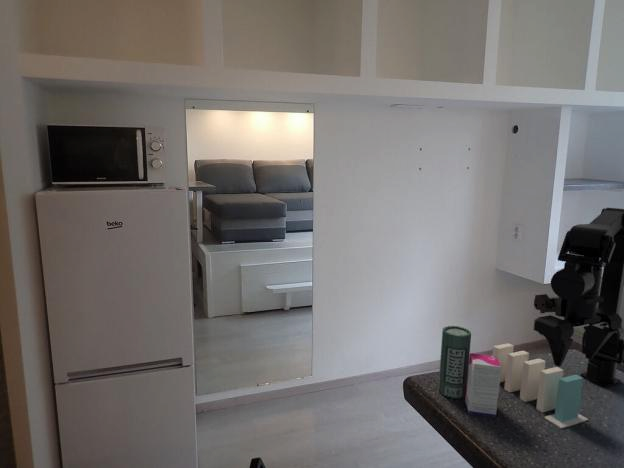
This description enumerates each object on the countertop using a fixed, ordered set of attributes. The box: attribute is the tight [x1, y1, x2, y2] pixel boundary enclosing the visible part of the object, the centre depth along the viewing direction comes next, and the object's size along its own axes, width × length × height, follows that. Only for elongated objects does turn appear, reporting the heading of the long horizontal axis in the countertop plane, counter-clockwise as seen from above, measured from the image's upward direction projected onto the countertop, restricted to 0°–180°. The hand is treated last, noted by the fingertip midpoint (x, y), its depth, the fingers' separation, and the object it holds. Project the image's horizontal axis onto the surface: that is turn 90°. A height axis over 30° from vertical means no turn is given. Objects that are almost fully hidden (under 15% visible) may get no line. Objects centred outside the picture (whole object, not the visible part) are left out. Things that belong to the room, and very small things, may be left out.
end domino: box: [554, 374, 584, 422], centre depth 94 cm, size 2×5×9 cm, turn 112°
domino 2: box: [504, 350, 530, 393], centre depth 106 cm, size 2×5×9 cm, turn 113°
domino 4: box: [535, 366, 564, 413], centre depth 98 cm, size 2×5×9 cm, turn 113°
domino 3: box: [519, 358, 546, 403], centre depth 102 cm, size 2×5×9 cm, turn 113°
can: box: [438, 325, 472, 400], centre depth 104 cm, size 6×6×15 cm
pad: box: [544, 413, 589, 430], centre depth 94 cm, size 8×4×1 cm, turn 113°
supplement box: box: [464, 352, 501, 418], centre depth 97 cm, size 6×6×12 cm
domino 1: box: [491, 343, 515, 383], centre depth 110 cm, size 2×5×9 cm, turn 113°
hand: (573, 362), depth 92 cm, fingers open, 9 cm apart
